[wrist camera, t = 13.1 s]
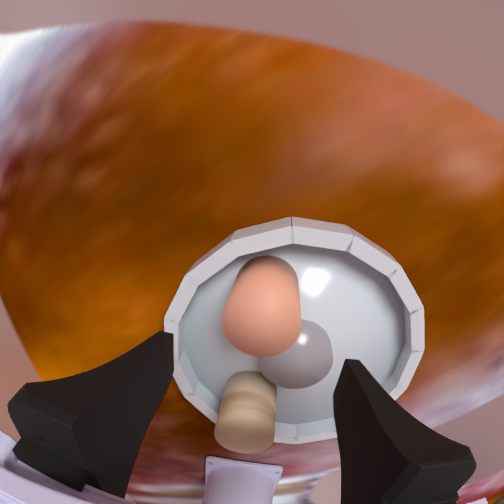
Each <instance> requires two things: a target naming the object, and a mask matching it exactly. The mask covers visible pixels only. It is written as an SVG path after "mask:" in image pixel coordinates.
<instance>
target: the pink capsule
mask: <svg viewBox="0 0 504 504" xmlns="http://www.w3.org/2000/svg"><path fill="white" fill-rule="evenodd" d="M301 326H302V321H301V308H300V295H299V283H298V277H297V274H296V272H295V270H294V269H293V267H292V266H291V265H290V264H289V263H288V262H286V261H285V260H283V259H281V258H279V257H276V256H271V255H262V256H258V257H254V258H252V259H250V260H249V261H247V262H246V263H245V264H244V265H243V266H242V267H241V269H240V270H239V272H238V274H237V277H236V280H235V282H234V285H233V288H232V290H231V293H230V295H229V298H228V301H227V303H226V306H225V309H224V311H223V315H222V328H223V331H224V334H225V336H226V338H227V339H228V340H229V342H230V343H231V344H232V345H233V346H234V347H235V348H237V349H238V350H240V351H242V352H244V353H246V354H249V355H252V356H257V357H269V356H274V355H278V354H280V353H282V352H284V351H286V350H288V349H289V348H290V347H291V346H292V345H293V344H294V343H295V342H296V340H297V339H298V337H299V335H300V332H301Z"/></svg>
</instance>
